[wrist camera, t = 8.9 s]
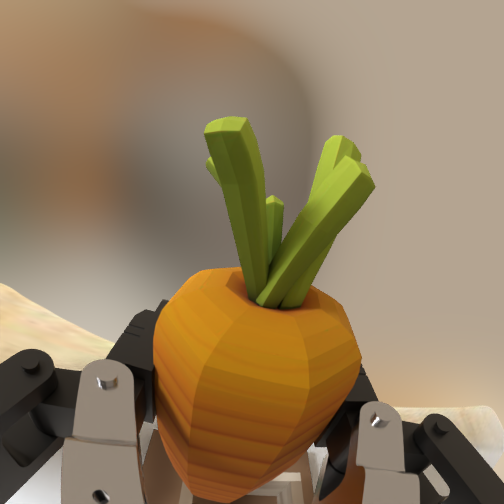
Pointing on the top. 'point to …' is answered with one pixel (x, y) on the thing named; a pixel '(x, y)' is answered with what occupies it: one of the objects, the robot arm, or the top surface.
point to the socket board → (182, 500)
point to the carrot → (258, 327)
